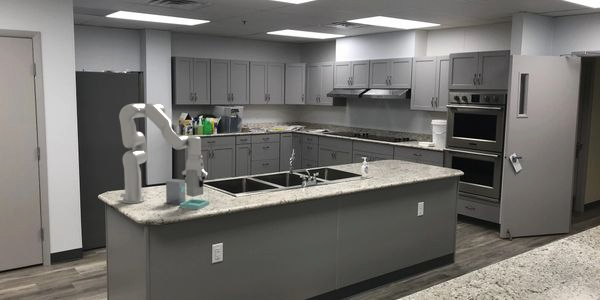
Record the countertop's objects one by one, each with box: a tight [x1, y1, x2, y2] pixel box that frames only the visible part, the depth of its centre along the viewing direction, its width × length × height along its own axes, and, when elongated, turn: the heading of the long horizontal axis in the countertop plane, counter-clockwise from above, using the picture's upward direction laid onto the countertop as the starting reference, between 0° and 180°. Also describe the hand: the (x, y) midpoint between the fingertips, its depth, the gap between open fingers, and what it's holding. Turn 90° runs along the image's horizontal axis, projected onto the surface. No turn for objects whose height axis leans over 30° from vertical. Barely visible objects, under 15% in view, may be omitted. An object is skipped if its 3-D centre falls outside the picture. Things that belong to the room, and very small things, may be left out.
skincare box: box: [185, 169, 204, 198], centre depth 289 cm, size 8×7×16 cm
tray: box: [179, 198, 210, 210], centre depth 291 cm, size 12×13×2 cm
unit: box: [163, 178, 186, 206], centre depth 296 cm, size 11×9×14 cm
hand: (194, 186), depth 289 cm, fingers closed on skincare box, 8 cm apart
